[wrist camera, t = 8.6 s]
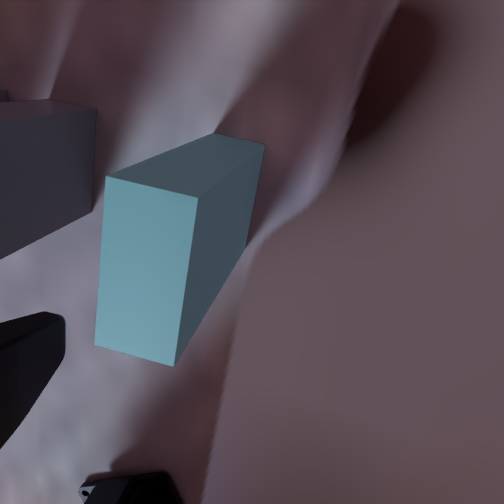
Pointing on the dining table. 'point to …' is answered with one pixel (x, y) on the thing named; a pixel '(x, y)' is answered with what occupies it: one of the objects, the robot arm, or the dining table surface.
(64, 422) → the dining table surface
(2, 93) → the domino
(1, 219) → the domino
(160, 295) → the domino
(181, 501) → the robot arm
